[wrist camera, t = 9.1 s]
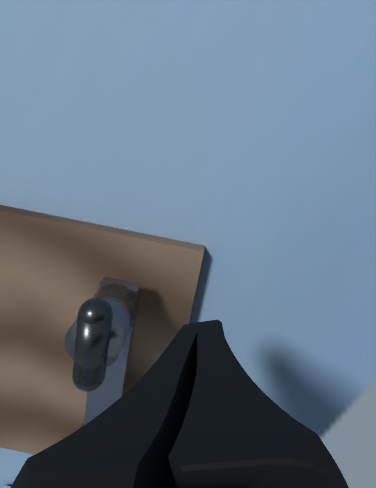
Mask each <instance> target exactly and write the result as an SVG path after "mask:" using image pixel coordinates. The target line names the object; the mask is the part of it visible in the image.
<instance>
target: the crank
mask: <svg viewBox="0 0 376 488" xmlns="http://www.w3.org/2000/svg"><path fill="white" fill-rule="evenodd" d="M140 289H141V283H136V282H131V281H126V280H121V279H117V278H112V277H107V276H105V277H104V278H103V280H102V281H101V282H100V284H99V290H98V291H97V292H96V294H95V295H94V296H93V298H91V299H89V300H87V301H85V302H84V303H83V304H82V305H81V306H80V308H79V310H78V316H77V319H76V320H75V322H74V323H73V324H72V326H71V327H70V328H69V330H68V331H67V333H66V336H65V348H66V351H67V353H68V354H69V356H70V357H71V358H72V359H73V360H74V361H73V372H72V379H73V383H74V385H75V386H76V387H77V388H78V389H79V390H81V391H85V392H87V400H86V409H85V418H84V423H83V424H82V425H81V426H80V428H81V427H83V426H84V425H86V424H87V423H88V422H90V421H91V420H93V419H94V418H96V417H97V416H98V415H100V414H101V413H102V412H103V411H105V410H106V409H107V408H108V407H110V406H111V405H112V404H113V403H115V402H116V401H117V400H118V399H120V398H121V397H122V396H123V395H124V394H125V387H126V380H127V374H128V367H129V361H130V354H131V348H132V341H133V335H134V328H135V322H136V315H137V313H138V309H139V305H138V302H139V295H140ZM80 428H79V429H80Z"/></svg>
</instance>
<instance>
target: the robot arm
mask: <svg viewBox="0 0 376 488" xmlns="http://www.w3.org/2000/svg"><path fill="white" fill-rule="evenodd" d="M1 488H348V485H347V483H346V481H345V479H344V477H343V475H342V473H341V471H340V469H339V468H338V466H337V464H336V463H335V461H334V459H333V458H332V456H331V454H330V453H329V451H328V450H327V448H326V447H325V445H324V444H323V442H322V441H321V439H320V438H319V436H318V435H317V434H316V433H315V432H313V431H312V430H310V429H309V428H307V427H306V426H304V425H302V424H301V423H299V422H298V421H296V420H295V419H294V418H292V417H291V416H290V415H289V414H287V413H286V412H285V411H283V410H282V409H281V408H280V407H279V406H278V405H277V404H275V403H274V402H273V401H272V400H271V399H270V398H269V397H268V396H267V395H266V394H265V393H263V392H262V390H261V389H260V388H259V387H258V386H257V385H256V384H255V383H254V382H253V381H252V379H251V378H250V377H249V376H248V375H247V373H246V372H245V371H244V369H243V368H242V367H241V365H240V364H239V362H238V361H237V359H236V358H235V356H234V354H233V353H232V351H231V349H230V347H229V345H228V343H227V341H226V339H225V337H224V332H223V327H222V322H220V321H219V320H212V321H205V322H198V323H191V324H184V325H183V326H182V328H181V329H180V330H179V331H178V333H177V334H176V336H175V337H174V338H173V340H172V341H171V342H170V344H169V345H168V347H167V348H166V349H165V350H164V352H163V353H162V354H161V356H160V357H159V358H158V360H157V361H156V362H155V363H154V364H153V365H152V366H151V368H150V369H149V370H148V371H147V372H146V373H145V375H144V376H143V377H142V378H141V379H140V380H139V381H138V382H137V383H136V384H135V385H134V386H133V387H132V388H131V389H130V390H128V391H127V392H126V393H125V394H124V395H123V396H122V397H121V398H120V399H118V400H117V401H116V402H115V403H113V404H112V405H111V406H110V407H108V408H107V409H106V410H105V411H103V412H102V413H101V414H100V415H98V416H97V417H96V418H94V419H93V420H91V421H90V422H88V423H87V424H86V425H84V426H83V427H81V428H80V429H78V430H76V431H75V432H73V433H72V434H70V435H69V436H67V437H65V438H64V439H62V440H60V441H59V442H57V443H55V444H53V445H51V446H50V447H48V448H46V449H44V450H43V451H41V452H39V453H37V454H35V455H33V456H31V457H30V458H28V459H27V460H26V462H25V464H24V465H23V467H22V469H21V470H20V472H19V474H18V476H17V477H16V479H15V481H14V482H13V484H12V486H7V485H5V486H2V487H1Z"/></svg>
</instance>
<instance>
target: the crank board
mask: <svg viewBox="0 0 376 488" xmlns="http://www.w3.org/2000/svg"><path fill="white" fill-rule="evenodd" d="M204 248H205V246H202V245H197V244H192V243H187V242H182V241H177V240H172V239H168V238H163V237H158V236H153V235H148V234H143V233H138V232H133V231H128V230H123V229H118V228H113V227H108V226H103V225H98V224H93V223H88V222H83V221H78V220H73V219H68V218H63V217H58V216H53V215H48V214H43V213H38V212H33V211H28V210H23V209H18V208H13V207H8V206H3V205H0V447H2V448H6V449H11V450H16V451H20V452H25V453H30V454H34V455H35V454H37V453H39V452H41V451H43V450H44V449H46V448H48V447H50V446H51V445H53V444H55V443H57V442H59V441H60V440H62V439H64V438H65V437H67V436H69V435H70V434H72V433H73V432H75V431H76V430H78V429H79V428H80V426H81V425H82V424H83V423H84V418H85V409H86V400H87V392H85V391H81V390H79V389H78V388H77V387H76V386H75V385H74V383H73V379H72V372H73V361H74V360H73V359H72V358H71V357H70V356H69V354H68V353H67V351H66V348H65V336H66V333H67V331H68V330H69V328H70V327H71V326H72V324H73V323H74V322H75V320H76V319H77V316H78V310H79V308H80V306H81V305H82V304H83V303H84V302H85V301H87V300H89V299H91V298H93V296H94V295H95V294H96V292H97V291H98V290H99V284H100V282H101V281H102V280H103V278H104V277H105V276H107V277H112V278H117V279H121V280H126V281H131V282H136V283H141V289H140V295H139V302H138V305H139V309H138V313H137V315H136V322H135V328H134V335H133V341H132V348H131V354H130V361H129V367H128V374H127V380H126V387H125V393H126V392H127V391H128V390H130V389H131V388H132V387H133V386H134V385H135V384H136V383H137V382H138V381H139V380H140V379H141V378H142V377H143V376H144V375H145V373H146V372H147V371H148V370H149V369H150V368H151V366H152V365H153V364H154V363H155V362H156V361H157V360H158V358H159V357H160V356H161V354H162V353H163V352H164V350H165V349H166V348H167V347H168V345H169V344H170V342H171V341H172V340H173V338H174V337H175V336H176V334H177V333H178V331H179V330H180V329H181V328H182V326H183V325H184V324H189V321H190V316H191V311H192V307H193V302H194V297H195V292H196V288H197V283H198V278H199V274H200V269H201V264H202V259H203V255H204Z"/></svg>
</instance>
